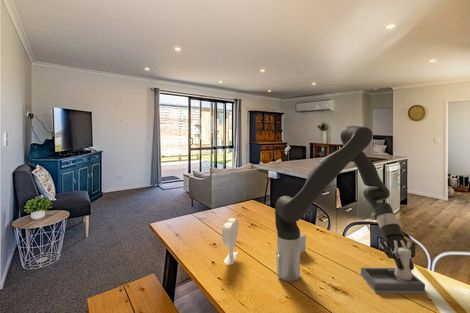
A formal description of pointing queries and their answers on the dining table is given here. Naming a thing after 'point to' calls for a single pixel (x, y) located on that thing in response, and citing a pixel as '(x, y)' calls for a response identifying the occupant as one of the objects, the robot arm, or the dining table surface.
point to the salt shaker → (406, 272)
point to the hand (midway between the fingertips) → (406, 269)
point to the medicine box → (302, 243)
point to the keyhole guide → (391, 281)
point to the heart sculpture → (230, 238)
